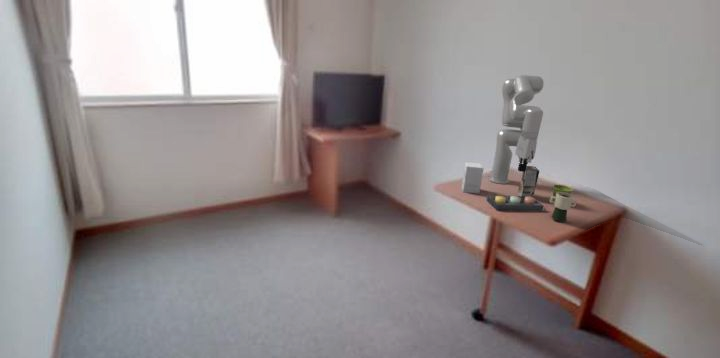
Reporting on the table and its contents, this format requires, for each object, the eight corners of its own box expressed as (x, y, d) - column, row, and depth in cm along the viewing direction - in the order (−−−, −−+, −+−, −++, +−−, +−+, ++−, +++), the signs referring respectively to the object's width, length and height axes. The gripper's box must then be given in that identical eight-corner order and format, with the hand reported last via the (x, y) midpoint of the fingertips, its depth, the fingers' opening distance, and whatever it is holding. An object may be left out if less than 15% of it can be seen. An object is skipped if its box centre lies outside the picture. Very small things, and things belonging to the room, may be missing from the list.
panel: (486, 200, 195) (487, 195, 194) (529, 201, 198) (530, 196, 197) (497, 210, 184) (498, 205, 183) (542, 211, 187) (543, 205, 186)
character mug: (569, 219, 179) (576, 194, 175) (572, 225, 173) (579, 199, 168) (544, 214, 182) (551, 190, 178) (546, 220, 176) (553, 195, 171)
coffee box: (533, 199, 201) (540, 171, 195) (520, 198, 202) (527, 169, 196) (529, 193, 209) (535, 166, 204) (517, 192, 210) (523, 164, 205)
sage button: (507, 203, 193) (508, 196, 191) (516, 203, 193) (517, 196, 192) (511, 207, 188) (513, 199, 187) (521, 207, 189) (522, 199, 187)
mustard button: (492, 202, 192) (493, 195, 190) (501, 203, 192) (503, 195, 191) (496, 206, 187) (498, 199, 186) (506, 207, 188) (507, 199, 186)
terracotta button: (521, 203, 194) (523, 196, 192) (530, 203, 194) (532, 196, 193) (526, 207, 189) (528, 200, 188) (535, 207, 190) (537, 200, 188)
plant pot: (556, 206, 194) (560, 190, 191) (545, 199, 202) (549, 184, 200) (572, 206, 195) (576, 190, 192) (560, 199, 204) (564, 184, 201)
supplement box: (477, 188, 212) (482, 163, 207) (479, 194, 204) (484, 168, 199) (461, 186, 213) (465, 161, 208) (462, 192, 205) (466, 166, 200)
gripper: (514, 130, 185) (507, 166, 191) (530, 138, 171) (522, 176, 177) (528, 131, 186) (520, 166, 192) (545, 139, 172) (536, 176, 178)
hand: (521, 170), depth 185 cm, fingers closed
